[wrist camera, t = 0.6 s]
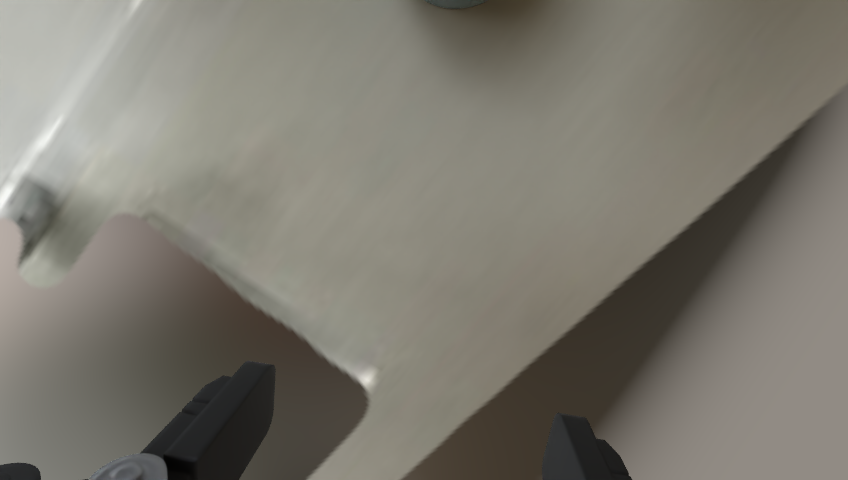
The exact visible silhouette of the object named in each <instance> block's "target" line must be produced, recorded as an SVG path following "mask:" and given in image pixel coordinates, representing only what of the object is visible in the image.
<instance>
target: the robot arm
mask: <svg viewBox="0 0 848 480" xmlns="http://www.w3.org/2000/svg"><path fill="white" fill-rule="evenodd" d="M275 372H276V371H275V366H274V365H271V364H265V363H259V362H253V361H246V362H245V363H244V364H243V365H242V366H241V367H240V369H239V370H238V371H237V372H236V373H235V374H234V375H233V376H232V377H229V376H222V377H220V378H218V379H216V380H215V381H213V382H211V383H209V384H207V385H205V387H204V388H202V390H201V391H200V392H199V393H198V394H197V395H196V396H195V397H194V398H193V400H192V401H190V402H189V403H188V404H187V405H186V406H185V407H184V408H183V409H182V412H179V414H177V416H176V417H175V418H174V419H173V420H172V421H171V422H170V423H169V424H168V425H167V426H166V427H165V428H164V429H163V430H162V431H161V432H160V433H159V434H158V435H157V436H156V437H155V438H154V439H153V440H152V441H151V443H150V444H149V445H148V446H147V447H146V448H145V449H144V450H143V451H142V452H141V453H140V454H132V455H128V456H124V457H121V458H119V459H116V460H114V461H112V462H110V463H108V464H106V465H105V466H103V467H102V468H100V469H99V470H98V471H96V472H95V473H94V474H93V475H92V476H91V477H90V478H89V479H85V480H239V478H240V477H241V475H242V473H243V472H244V470H245V468H246V467H247V465H248V464H249V462H250V460H251V459H252V457H253V455H254V453H255V452H256V450H257V449H258V447H259V446H260V444H261V442H262V440H263V439H264V437H265V436H266V434H267V432H268V430H269V427H270V424H271V421H272V416H273V410H274V392H275V391H274V390H275ZM542 476H543V480H632V479H631V477H630V476H629V473H628V471H627V469H626V467H625V465H624V463H623V461H622V459H621V457H620V456H619V455H618V454H617V452H616V451H615V450H614V449H613V448H612V447H611V446H610V445H609V444H608V443H607V442H606V441H605V440H601V439H596V438H595V435H594V433H593V431H592V429H591V427H590V424H589V422H588V420H587V419H586V418H585V417H580V416H574V415H568V414H562V413H557V414H556V415H555V417H554V420H553V423H552V427H551V431H550V435H549V438H548V442H547V446H546V450H545V453H544V457H543V465H542ZM0 480H41V476H40V471H39V470H38V468H36V467H35V466H33V465H31V464H26V463H11V464H4V465H0Z"/></svg>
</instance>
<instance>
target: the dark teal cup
mask: <svg viewBox="0 0 848 480" xmlns="http://www.w3.org/2000/svg"><path fill="white" fill-rule="evenodd" d="M424 1H426V2H428V3H431V4H433V5H436V6H439V7H444V8H452V9H459V8H467V7H472V6H475V5H478V4H481V3H483V2H485V1H487V0H424Z"/></svg>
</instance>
